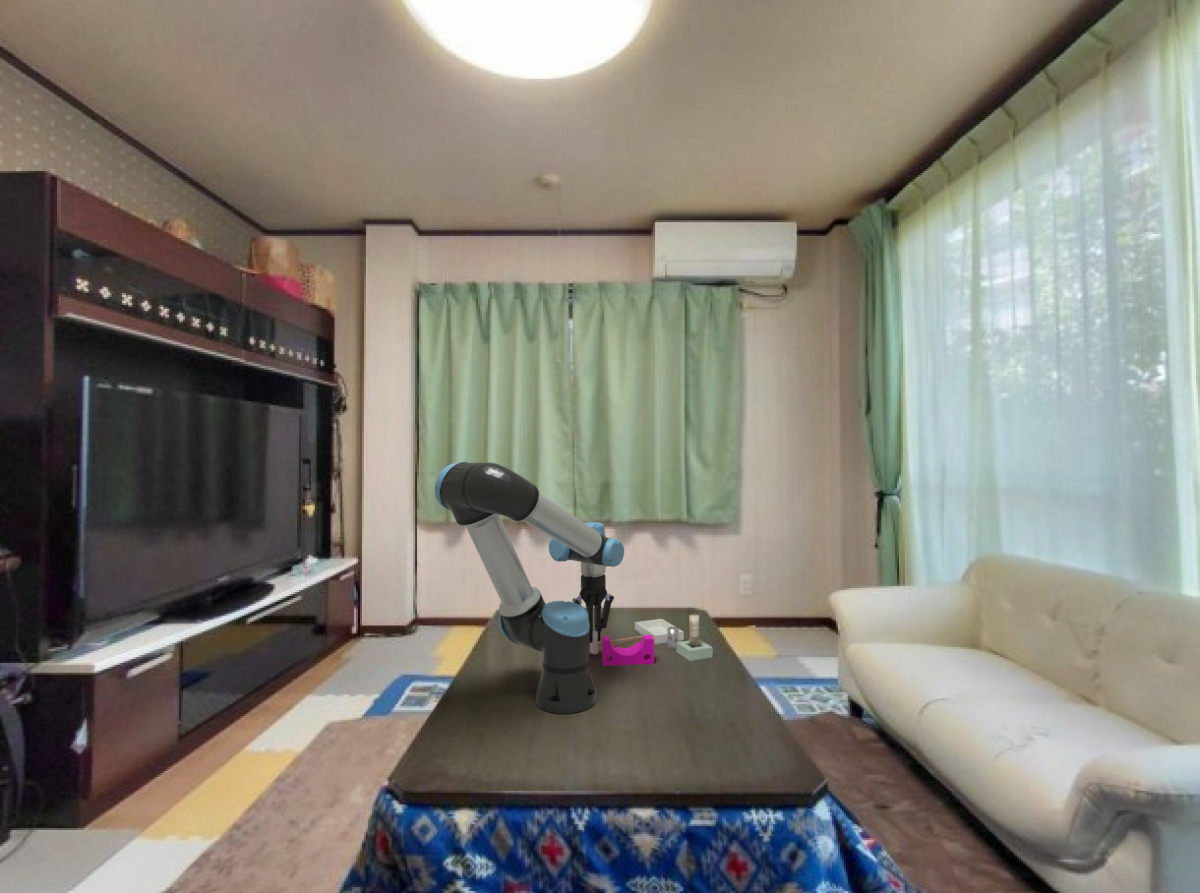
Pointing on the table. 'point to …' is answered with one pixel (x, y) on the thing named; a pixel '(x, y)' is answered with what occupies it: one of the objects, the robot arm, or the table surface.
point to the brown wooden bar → (620, 643)
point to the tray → (656, 630)
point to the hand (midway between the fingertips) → (594, 652)
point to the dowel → (693, 630)
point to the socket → (694, 650)
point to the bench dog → (672, 637)
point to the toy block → (628, 652)
